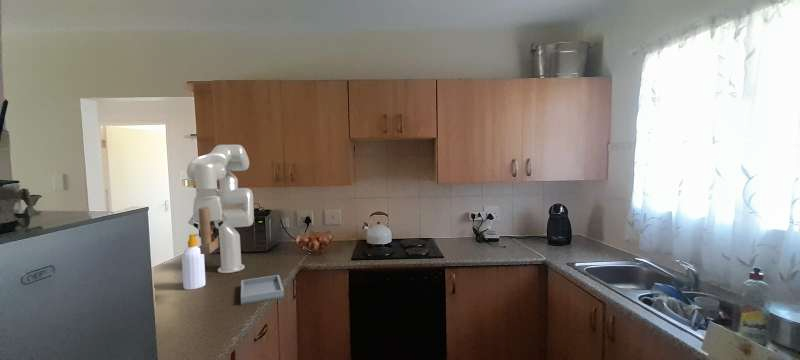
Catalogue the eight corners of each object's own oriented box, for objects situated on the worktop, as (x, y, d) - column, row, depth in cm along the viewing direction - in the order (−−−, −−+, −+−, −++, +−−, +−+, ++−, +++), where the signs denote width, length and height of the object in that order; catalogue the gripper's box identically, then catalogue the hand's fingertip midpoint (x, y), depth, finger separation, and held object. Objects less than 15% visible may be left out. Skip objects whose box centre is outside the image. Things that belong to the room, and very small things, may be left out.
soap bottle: (203, 288, 153) (200, 235, 152) (180, 290, 152) (177, 237, 150) (210, 282, 162) (207, 231, 161) (188, 284, 160) (185, 233, 159)
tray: (241, 286, 154) (241, 280, 154) (279, 281, 161) (279, 274, 161) (241, 304, 134) (240, 297, 134) (284, 297, 141) (283, 290, 141)
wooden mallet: (218, 247, 147) (216, 205, 146) (210, 254, 136) (207, 208, 135) (209, 248, 146) (206, 205, 145) (200, 254, 135) (197, 209, 134)
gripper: (230, 191, 146) (232, 234, 148) (184, 194, 140) (186, 238, 141) (229, 193, 140) (231, 237, 141) (180, 195, 133) (183, 242, 134)
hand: (209, 237), depth 141 cm, fingers closed on wooden mallet, 4 cm apart
